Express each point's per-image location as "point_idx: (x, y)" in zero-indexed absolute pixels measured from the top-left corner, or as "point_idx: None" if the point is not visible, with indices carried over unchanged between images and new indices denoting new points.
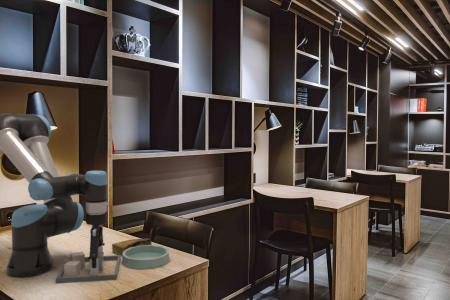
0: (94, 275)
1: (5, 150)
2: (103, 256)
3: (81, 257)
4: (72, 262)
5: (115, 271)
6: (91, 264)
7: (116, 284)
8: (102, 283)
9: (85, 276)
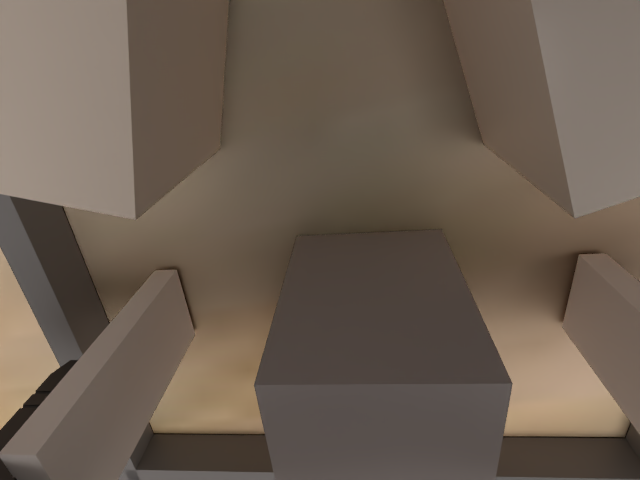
0: (68, 343)
1: None
2: None
3: (535, 136)
4: (31, 63)
5: (195, 476)
6: (76, 382)
7: None
8: (44, 375)
9: (18, 266)
